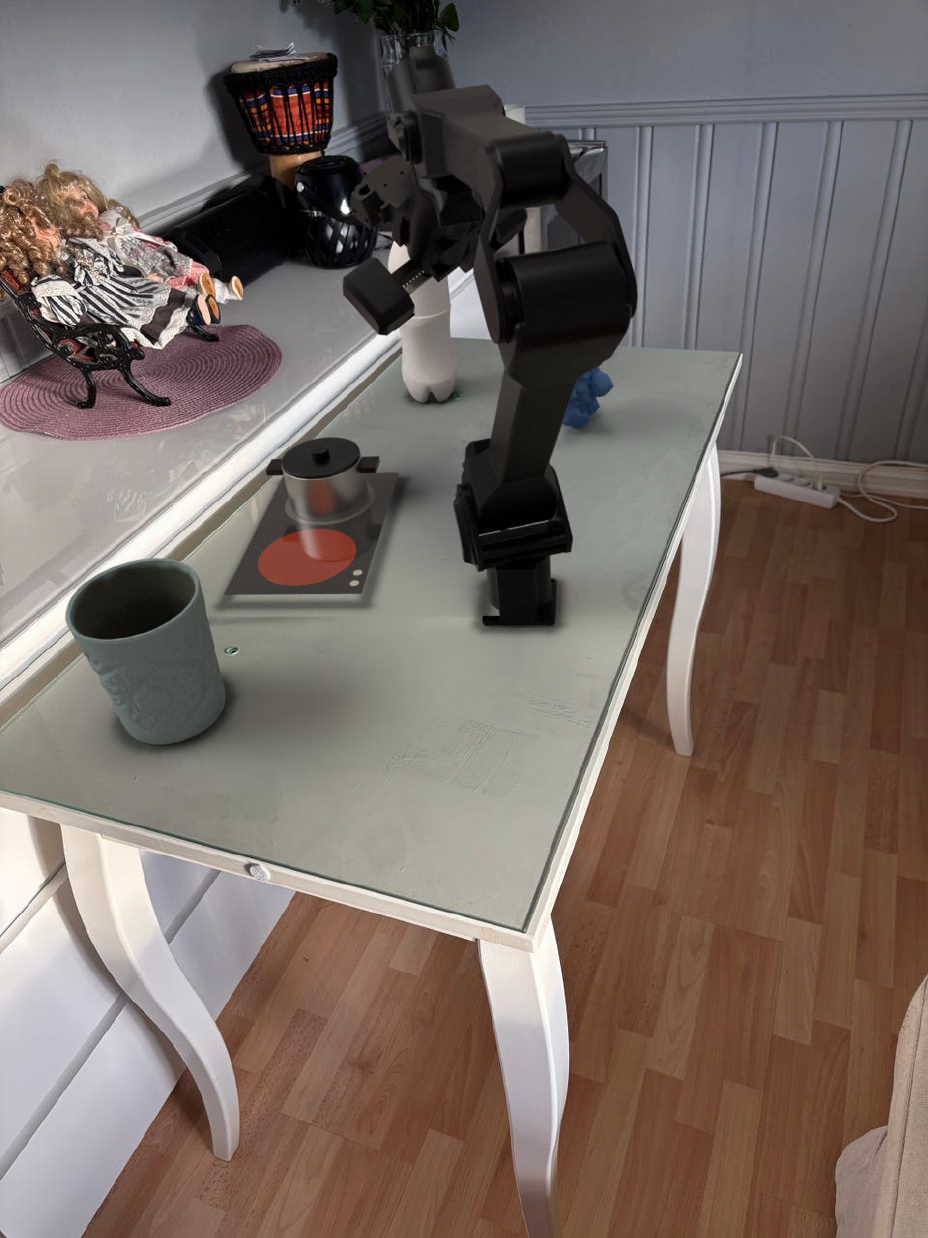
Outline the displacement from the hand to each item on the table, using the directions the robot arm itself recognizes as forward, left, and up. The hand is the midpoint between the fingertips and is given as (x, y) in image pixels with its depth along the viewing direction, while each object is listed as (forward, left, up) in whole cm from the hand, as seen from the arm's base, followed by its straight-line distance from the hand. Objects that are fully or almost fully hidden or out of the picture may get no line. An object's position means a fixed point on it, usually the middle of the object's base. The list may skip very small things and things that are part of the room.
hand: (430, 294), depth 94 cm
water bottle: (+17, +4, -19) cm, 26 cm away
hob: (-16, +12, -19) cm, 28 cm away
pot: (-11, +12, -18) cm, 24 cm away
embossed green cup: (-42, +18, -19) cm, 49 cm away
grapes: (+6, -16, -19) cm, 26 cm away
